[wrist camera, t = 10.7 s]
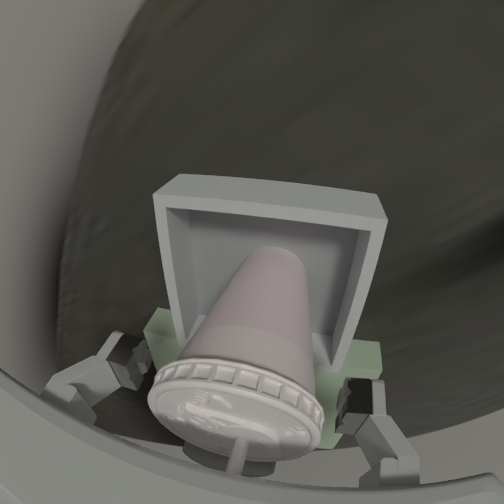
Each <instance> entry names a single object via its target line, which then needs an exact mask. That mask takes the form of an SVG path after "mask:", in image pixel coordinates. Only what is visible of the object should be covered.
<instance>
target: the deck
mask: <svg viewBox="0 0 504 504" xmlns="http://www.w3.org/2000/svg"><path fill="white" fill-rule="evenodd" d="M153 200H154V208H155V216H156V224H157V231H158V238H159V245H160V251H161V257H162V264H163V270H164V275H165V281H166V287H167V292H168V297H169V303H170V308H171V310H168V309H163V308H159V307H158V308H157V310H156V311H155V313H154V314H153V316H152V317H151V319H150V321H149V322H148V324H147V325H146V327H145V328H144V330H143V332H144V335H145V338H146V340H147V343H148V347H149V350H150V352H151V355H152V359H153V362H154V365H155V368H156V370H157V373H158V371H159V369H160V368H161V367H163V366H165V365H167V364H169V363H171V362H172V361H176V360H177V358H178V357H179V355H180V354H181V352H182V351H183V349H184V348H185V346H186V345H187V343H188V342H189V340H190V339H191V338H192V336H193V335H194V333H195V332H196V331H197V329H198V328H199V326H200V325H201V323H202V322H203V320H204V319H205V317H206V316H207V315H208V313H209V312H210V310H211V309H212V307H213V306H214V304H215V303H216V301H217V300H218V298H219V297H220V296H221V294H222V293H223V291H224V290H225V288H226V287H227V285H228V284H229V282H230V281H231V280H232V278H233V277H234V275H235V274H236V272H237V271H238V269H239V268H240V266H241V265H242V263H243V262H244V261H245V259H246V258H247V256H248V255H249V254H250V253H252V252H253V251H255V250H257V249H260V248H263V247H279V248H283V249H286V250H288V251H290V252H292V253H293V254H295V255H296V256H297V257H298V258H299V259H300V260H301V261H302V263H303V265H304V267H305V269H306V275H307V286H308V296H309V308H310V320H311V333H312V347H313V362H314V373H315V398H316V399H317V401H318V402H319V403H320V405H321V406H322V407H323V411H324V417H325V420H324V423H323V425H322V434H321V441H320V443H319V445H318V446H317V448H325V449H333V448H334V446H335V445H336V443H337V442H338V441H339V439H340V438H341V436H342V435H343V434H340V433H334V432H335V419H336V417H337V415H338V412H337V410H336V403H337V397H338V394H339V391H340V388H342V387H343V382H344V380H345V378H346V377H352V378H367V379H378V377H379V376H380V374H381V372H382V361H381V351H380V343H379V342H374V341H364V340H354V339H352V338H353V335H354V333H355V330H356V327H357V324H358V321H359V318H360V315H361V312H362V309H363V306H364V303H365V300H366V297H367V294H368V291H369V288H370V284H371V281H372V278H373V274H374V271H375V267H376V264H377V260H378V257H379V253H380V249H381V246H382V242H383V238H384V234H385V230H386V226H387V222H388V219H387V217H386V215H385V212H384V210H383V208H382V205H381V203H380V201H379V199H378V196H377V194H372V193H366V192H359V191H353V190H346V189H339V188H331V187H324V186H316V185H308V184H300V183H291V182H281V181H272V180H261V179H250V178H238V177H225V176H211V175H194V174H179V175H177V176H176V177H175V178H173V179H172V180H171V181H169V182H168V183H167V184H165V185H164V186H163V187H161V188H160V189H159V190H158V191H156V192H155V193H154V194H153ZM183 452H184V453H185V454H186V455H187V456H188V457H189V458H191V459H192V460H194V461H195V462H197V463H199V464H201V465H203V466H206V467H208V468H211V469H215V470H219V471H224V472H225V470H226V467H227V463H228V460H229V457H227V456H223V455H220V454H216V453H213V452H210V451H207V450H205V449H202V448H200V447H198V446H195V445H193V444H191V443H189V442H187V441H185V443H184V446H183ZM275 464H276V461H275V462H260V461H249V460H245V463H244V466H243V470H242V474H241V475H242V476H247V477H263V476H268V475H271V474H272V473H273V472H274V469H275Z"/></svg>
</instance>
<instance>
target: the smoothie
mask: <svg viewBox="0 0 504 504" xmlns="http://www.w3.org/2000/svg"><path fill="white" fill-rule="evenodd" d="M148 405H149V407H150V409H151V411H152V413H153V414H154V416H155V417H156V418H157V419H158V420H159V422H160V423H161V424H162V425H164V426H165V427H166V428H167V429H168V430H170V431H171V432H172V433H174V434H175V435H177V436H178V437H180V438H182V439H184V440H185V441H187V442H189V443H191V444H193V445H195V446H198V447H200V448H202V449H205V450H207V451H210V452H213V453H216V454H220V455H223V456H227V457H229V460H228V463H227V467H226V470H225V472H228V473H232V474H237V475H241V474H242V470H243V466H244V463H245V460H249V461H260V462H275V461H285V460H291V459H295V458H299V457H302V456H304V455H306V454H308V453H310V452H312V451H313V450H314V449H316V448H317V446H318V445H319V443H320V441H321V434H322V425H323V423H324V420H325V417H324V411H323V407H322V406H321V405H320V403H319V402H318V401H317V399H316V398H315V373H314V362H313V347H312V333H311V320H310V308H309V296H308V286H307V275H306V269H305V267H304V265H303V263H302V261H301V260H300V259H299V258H298V257H297V256H296V255H295V254H293V253H292V252H290V251H288V250H286V249H283V248H279V247H263V248H260V249H257V250H255V251H253V252H252V253H250V254H249V255H248V256H247V258H246V259H245V261H244V262H243V263H242V265H241V266H240V268H239V269H238V271H237V272H236V274H235V275H234V277H233V278H232V280H231V281H230V282H229V284H228V285H227V287H226V288H225V290H224V291H223V293H222V294H221V296H220V297H219V298H218V300H217V301H216V303H215V304H214V306H213V307H212V309H211V310H210V312H209V313H208V315H207V316H206V317H205V319H204V320H203V322H202V323H201V325H200V326H199V328H198V329H197V331H196V332H195V333H194V335H193V336H192V338H191V339H190V340H189V342H188V343H187V345H186V346H185V348H184V349H183V351H182V352H181V354H180V355H179V357H178V358H177V360H176V361H172V362H171V363H169V364H167V365H165V366H163V367H161V368H160V369H159V371H158V373H157V374H156V376H155V377H154V384H153V386H152V388H151V390H150V392H149V394H148Z"/></svg>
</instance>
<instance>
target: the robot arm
mask: <svg viewBox="0 0 504 504" xmlns="http://www.w3.org/2000/svg"><path fill="white" fill-rule="evenodd" d="M147 346H148V343H147V340H145V339H141V338H138V337H135V336H132V335H128V334H126V333H122V332H119V331H114V332H112V334H111V335H110V336H109V338H108V339H107V341H106V342H105V344H104V345H103V346H102V348H101V349H100V351H99V352H98V354H97V355H96V356H94V355H93V356H91V357H89V358H87V359H85V360H83V361H81V362H79V363H77V364H75V365H73V366H71V367H69V368H67V369H65V370H63V371H61V372H59V373H57V374H55V375H53V377H52V378H51V379H50V381H49V382H48V384H47V385H46V387H45V388H44V390H43V391H42V392H41V394H40V395H38V394H37V393H35V392H34V391H32V390H31V389H29V388H27V387H26V386H24V385H23V384H22V383H20V382H19V381H17V380H16V379H14V378H13V377H11V376H10V375H9V374H7V373H6V372H5V371H3V370H2V369H1V368H0V504H504V484H503V483H502V482H501V481H500V480H499V479H498V477H497V476H495V475H494V474H493V473H483V474H479V475H474V476H470V477H465V478H460V479H455V480H449V481H442V482H436V483H428V484H420V481H419V480H420V478H419V455H418V454H417V452H416V451H415V450H414V448H413V447H412V446H411V444H410V443H409V441H408V440H407V439H406V437H405V436H404V435H403V433H402V432H401V430H400V429H399V428H398V426H397V425H396V424H395V422H394V421H393V419H392V418H391V417H390V416H389V415H386V400H385V386H384V381H383V380H377V379H367V378H352V377H346V378H345V380H344V382H343V387H342V388H340V391H339V394H338V397H337V403H336V410H337V412H338V415H337V417H336V419H335V432H334V433H340V434H351V435H354V436H355V438H356V440H357V442H358V444H359V446H360V447H361V449H362V451H363V453H364V455H365V457H366V459H367V461H368V463H369V464H370V466H371V469H370V470H369V471H368V472H366V473H365V474H364V475H363V476H361V477H360V479H359V488H347V487H324V486H323V487H322V486H311V485H300V484H291V483H284V482H276V481H270V480H263V479H258V478H252V477H247V476H242V475H237V474H232V473H228V472H224V471H219V470H215V469H211V468H207V467H203V466H200V465H196V464H193V463H190V462H186V461H183V460H180V459H176V458H173V457H170V456H167V455H164V454H162V453H159V452H156V451H153V450H150V449H148V448H145V447H142V446H140V445H137V444H135V443H132V442H130V441H127V440H125V439H123V438H120V437H118V436H116V435H113V434H111V433H109V432H107V431H105V430H102V429H100V428H98V427H96V426H94V425H93V424H94V422H95V420H96V418H97V416H96V414H95V413H94V411H93V410H92V409H91V407H92V406H93V405H95V404H96V403H98V402H99V401H101V400H102V399H104V398H105V397H106V396H108V395H109V394H111V393H112V392H114V391H115V390H117V389H118V388H120V387H121V386H124V387H127V388H130V389H133V390H136V391H137V390H138V389H139V387H140V385H141V383H142V381H143V374H144V373H146V372H148V370H149V368H150V366H151V362H152V355H151V352H150V351H149V350H148V349H147ZM120 385H121V386H120Z"/></svg>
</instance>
